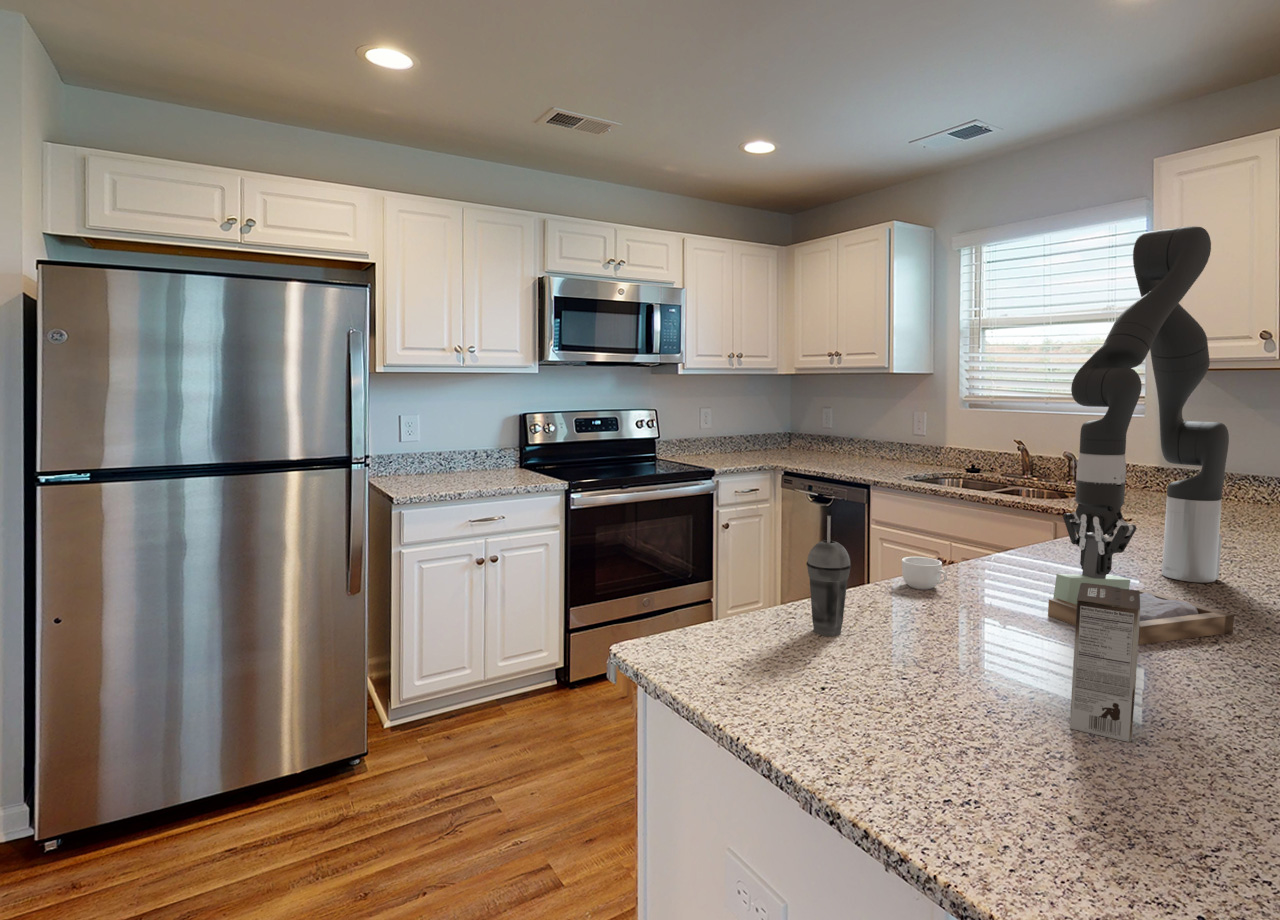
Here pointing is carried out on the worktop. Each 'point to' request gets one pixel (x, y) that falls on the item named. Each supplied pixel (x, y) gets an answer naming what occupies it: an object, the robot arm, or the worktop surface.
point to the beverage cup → (828, 584)
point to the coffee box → (1105, 660)
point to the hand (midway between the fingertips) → (1095, 571)
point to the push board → (1086, 576)
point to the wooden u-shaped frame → (1161, 621)
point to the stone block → (1163, 608)
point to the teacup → (922, 572)
